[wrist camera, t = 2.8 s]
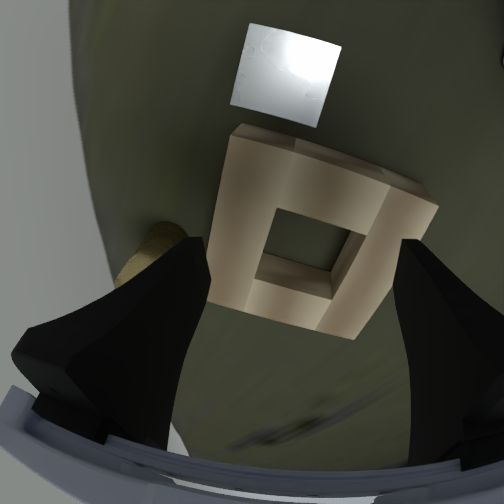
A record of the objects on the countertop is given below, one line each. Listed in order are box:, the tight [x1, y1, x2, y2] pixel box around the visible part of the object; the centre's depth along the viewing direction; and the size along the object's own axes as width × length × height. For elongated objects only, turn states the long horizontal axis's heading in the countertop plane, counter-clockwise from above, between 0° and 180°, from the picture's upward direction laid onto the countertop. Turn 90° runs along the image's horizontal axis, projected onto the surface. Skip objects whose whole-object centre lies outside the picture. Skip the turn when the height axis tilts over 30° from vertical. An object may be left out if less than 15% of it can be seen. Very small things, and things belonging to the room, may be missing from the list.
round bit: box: [115, 222, 188, 288], centre depth 21 cm, size 3×3×6 cm
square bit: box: [230, 23, 341, 128], centre depth 12 cm, size 3×3×7 cm
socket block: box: [206, 123, 439, 340], centre depth 20 cm, size 12×12×3 cm
